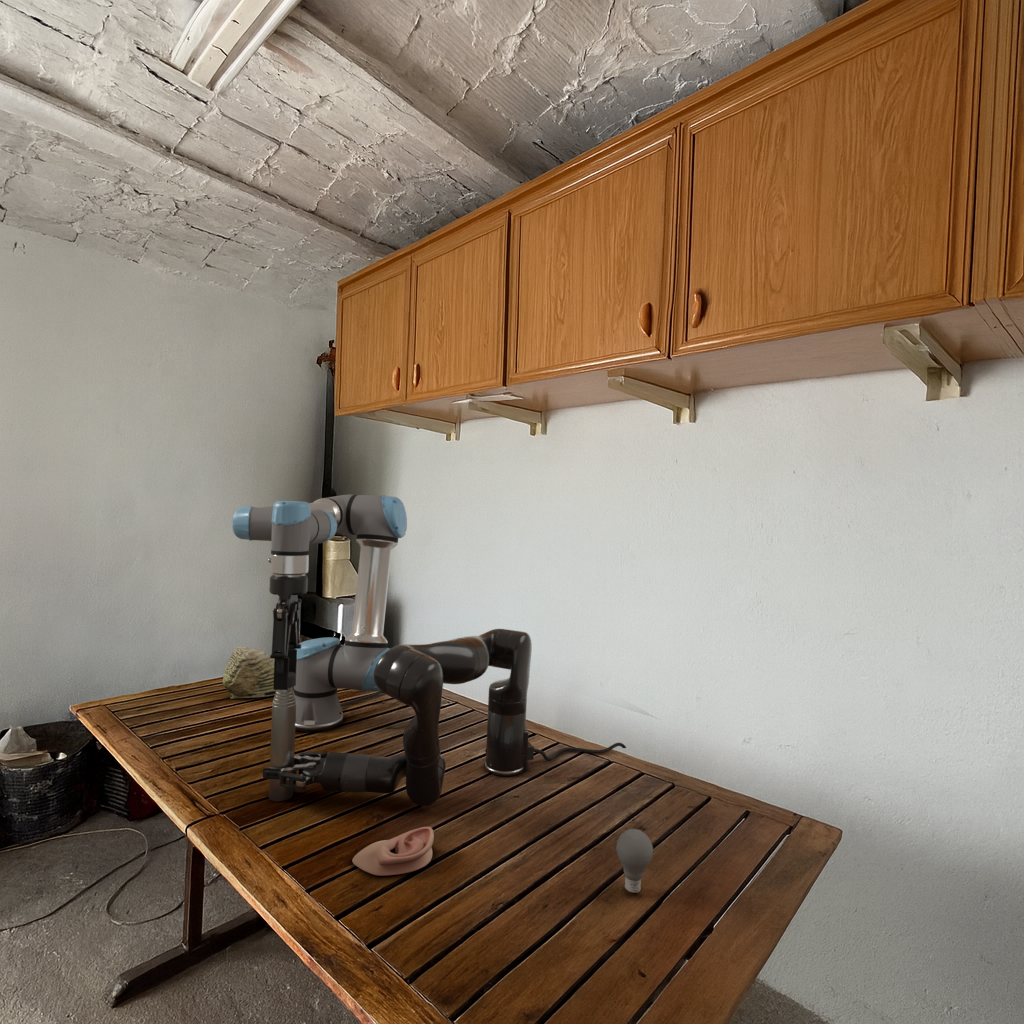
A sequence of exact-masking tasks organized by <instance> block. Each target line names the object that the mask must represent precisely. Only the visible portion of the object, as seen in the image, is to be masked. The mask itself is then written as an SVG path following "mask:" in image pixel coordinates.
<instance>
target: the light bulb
mask: <svg viewBox="0 0 1024 1024" xmlns="http://www.w3.org/2000/svg"><path fill="white" fill-rule="evenodd" d="M615 849H616V854H617V857H618V859H619V861H620V863H621V865H622V867H623V873H624V874H623V875H624V876H625V878H624V888H625V890H627V891H628V892H630V893H634V894H635V893H639V892H640V891H641V889H642V887H641V886H642V879H643V877H644V875H645V871H646V868H647V867H648V866H649V864H650V863H651V861H652V859H653V855H654V847H653V843H652V841H651V838H649V836H648V835H647V834H646V833H645V832H643V831H642V830H641V829H636V828H629V829H627V830H625V831H623V832H622V833H621V834H620V835H619V837H618V839H617V841H616V847H615Z"/></svg>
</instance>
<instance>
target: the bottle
mask: <svg viewBox="0 0 1024 1024" xmlns="http://www.w3.org/2000/svg"><path fill="white" fill-rule="evenodd" d="M270 724H271V725H270V727H271V728H270V751H269V752H270V755H269V767H278V768H291V767H293V766H294V756H295V752H296V731H295V727H296V699H295V693H294V687H291V688H288V689H287V690H277V691H276V694H275V695H274V697H273V700H272V704H271V723H270ZM288 773H292V772H288ZM268 781H269V782H268V785H269V786H268V799H269V800H270V801H272V802H284V801H288V800H290V799H291V798H293V796H294V789H292V788H287V787H283V786H280V785H279V784H280V780H277V779H268Z"/></svg>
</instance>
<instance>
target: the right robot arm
mask: <svg viewBox="0 0 1024 1024" xmlns="http://www.w3.org/2000/svg"><path fill="white" fill-rule="evenodd" d="M532 651H533V643H532V638H531V636H530V634H529V633H528V632H526V631H520V630H514V629H507V628H494V629H493V628H492V629H491V630H488V631H486V632H483V633H481V634H479V635H470V636H461V637H456V638H453V639H448V640H443V641H437V642H432V643H424V644H423V643H421V644H398V645H395V646H393V647H390V648H389V650H388V651H387V652H385V653H384V654H383V655H382V656H381V658H380V659H379V660H378V662H377V664H376V666H375V669H374V681H375V683H376V685H377V687H378V688H379V689H380V690H381V691H382V693H383V694H385V695H387V696H389V697H390V698H392V699H394V700H396V701H398V702H399V703H401V704H403V705H405V706H408V707H411V708H412V709H413V711H414V713H415V716H414V717H412V718H411V720H409V722H408V723H407V724H406V725H405V728H404V732H403V735H402V747H403V751H404V754H401V755H396V756H377V755H376V756H374V755H368V754H364V753H351V752H337V751H330V752H328V751H309V752H306V751H304V752H303V751H302V752H299V753H298V755H294V766H293V767H291V768H278V767H270V766H265V767H263V769H262V778H263V779H265V780H269V779H277V780H280V784H279V785H280V786H283V787H287V788H292V789H293V790H298V791H306V790H307V785H308V784H309V785H310V784H320V785H321V788H322V790H324V791H325V792H338V793H352V794H359V793H373V794H385V795H386V794H387V795H388V794H393V793H394V792H395V791H396V790H397V788H398V786H399V784H400V782H401V781H402V780H403V779H404V778H405V791H406V794H407V797H408V799H410V800H409V801H411V802H412V803H413V804H415V805H416V806H419V807H429V806H432V805H434V804H435V803H436V802H438V800H440V799H439V798H440V797H441V795H442V790H443V784H444V778H445V772H446V765H447V764H446V760H445V758H444V757H443V756H442V755H441V744H440V736H439V723H440V722H439V721H440V716H441V709H442V699H443V692H444V691H443V690H444V684H446V685H447V684H448V685H462V684H465V683H468V682H472V681H474V680H478V679H479V678H481V677H482V676H484V674H485V673H486V672H487V670H488V668H489V667H493V668H498V669H503V670H509V671H510V673H509V677H508V678H503V679H499V680H495V681H493V682H491V683H490V684H489V687H488V696H487V697H488V700H487V701H488V702H487V723H486V724H487V725H486V745H485V751H484V753H485V762H484V768H485V770H486V771H487V772H489V773H490V774H493V775H496V776H502V777H509V776H510V777H511V776H516V775H519V774H522V773H523V772H527V771H528V761H533V760H534V758H535V757H534V756H535V755H534V754H535V753H537V754H539V755H541V756H542V758H543V759H544V760H546V761H549V762H550V761H553V760H554V759H556V758H557V757H558V756H559V755H561V754H562V753H565V752H580V753H582V752H583V753H588V754H605V753H607V752H610V751H612V750H614V749H615V748H616V747H621V748H622V749H627V746H626V745H625V744H624V743H623V742H615V743H613V744H611V745H610V746H608V747H606V748H603V749H590V748H582V747H572V746H571V747H563V748H560V749H559V750H557V751H556V752H555V753H554V754H553V755H551V756H548V755H547V754H546V752H545V751H543V750H542V749H538V748H535V746H534V745H533V744H532V743H531V742H529V733H530V732H529V730H528V729H527V728H526V727H527V726H526V725H527V703H528V702H527V701H528V691H529V685H530V670H531V664H532V663H531V662H532V653H533V652H532ZM380 690H379V691H380ZM297 771H298V774H297ZM288 772H292V773H288Z"/></svg>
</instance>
